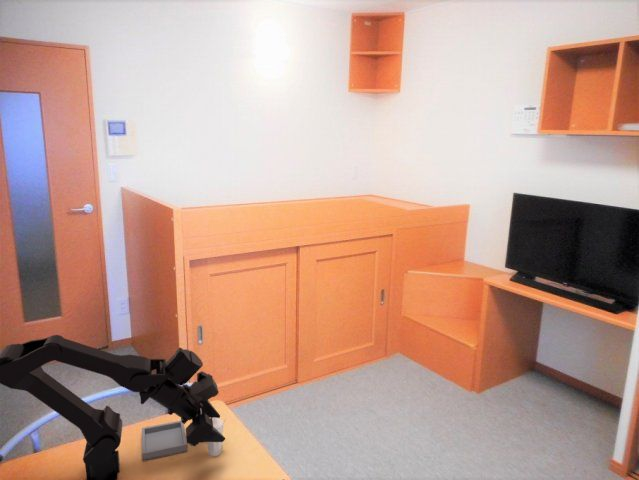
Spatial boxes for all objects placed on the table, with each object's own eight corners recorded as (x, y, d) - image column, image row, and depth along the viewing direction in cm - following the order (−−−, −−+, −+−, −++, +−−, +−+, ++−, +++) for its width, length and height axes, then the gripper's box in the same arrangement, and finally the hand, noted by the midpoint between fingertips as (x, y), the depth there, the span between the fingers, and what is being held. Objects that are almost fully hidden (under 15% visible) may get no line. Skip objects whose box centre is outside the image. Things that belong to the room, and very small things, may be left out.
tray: (142, 461, 113) (142, 453, 112) (142, 434, 122) (141, 428, 122) (187, 451, 117) (186, 444, 116) (183, 426, 126) (182, 420, 126)
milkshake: (222, 460, 114) (221, 424, 111) (202, 457, 115) (201, 421, 112) (230, 448, 118) (229, 413, 116) (210, 444, 119) (209, 410, 117)
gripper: (200, 391, 101) (251, 426, 107) (193, 352, 118) (237, 384, 124) (164, 430, 100) (217, 463, 107) (162, 385, 118) (208, 415, 124)
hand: (221, 428), depth 115 cm, fingers open, 9 cm apart
